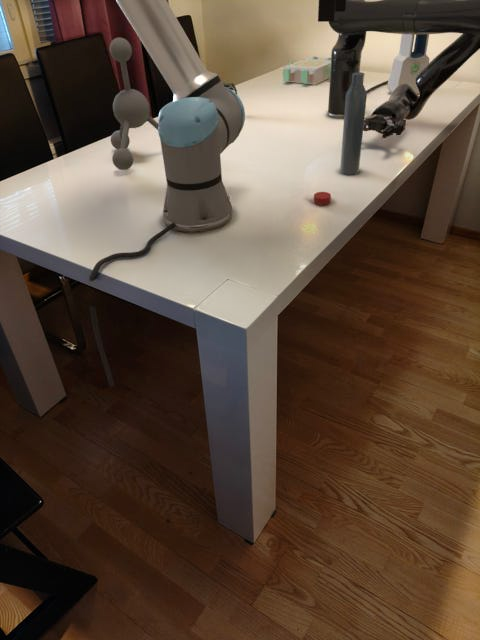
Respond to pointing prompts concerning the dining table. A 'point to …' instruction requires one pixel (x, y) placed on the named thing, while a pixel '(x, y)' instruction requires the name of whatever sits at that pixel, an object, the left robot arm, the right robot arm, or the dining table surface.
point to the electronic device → (409, 61)
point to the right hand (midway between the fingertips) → (368, 132)
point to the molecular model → (127, 108)
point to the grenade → (230, 86)
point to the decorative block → (308, 71)
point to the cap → (322, 198)
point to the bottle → (353, 125)
